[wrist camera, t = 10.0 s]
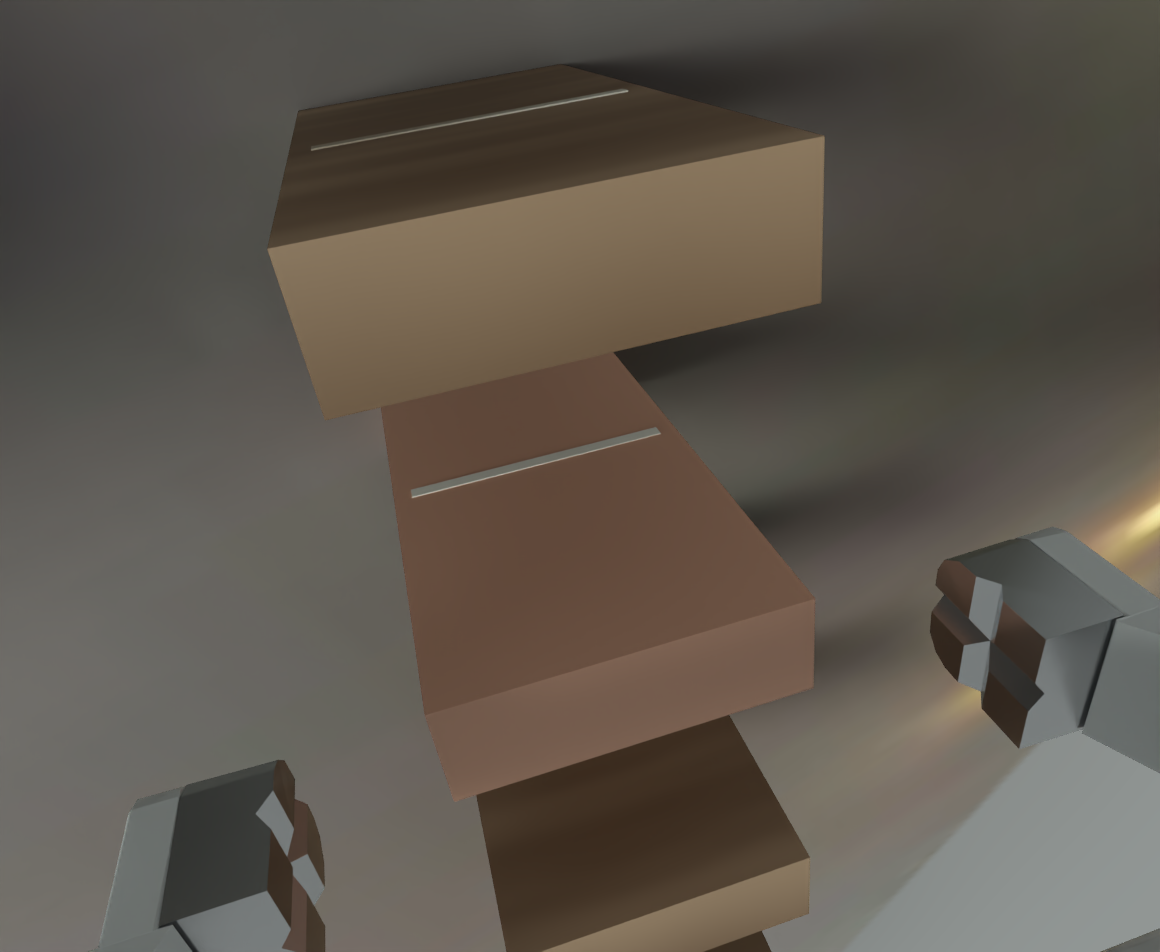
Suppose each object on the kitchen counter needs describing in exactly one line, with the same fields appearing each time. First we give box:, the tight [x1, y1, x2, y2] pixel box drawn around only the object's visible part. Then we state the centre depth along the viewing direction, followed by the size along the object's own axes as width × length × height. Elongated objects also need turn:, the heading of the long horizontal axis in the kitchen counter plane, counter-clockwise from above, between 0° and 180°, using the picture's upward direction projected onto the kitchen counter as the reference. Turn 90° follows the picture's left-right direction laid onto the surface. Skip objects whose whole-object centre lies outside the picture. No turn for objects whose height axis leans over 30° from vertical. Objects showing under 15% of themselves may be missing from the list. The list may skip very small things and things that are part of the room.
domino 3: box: [476, 715, 810, 952], centre depth 18 cm, size 2×5×10 cm, turn 98°
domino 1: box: [267, 64, 825, 420], centre depth 12 cm, size 2×5×10 cm, turn 98°
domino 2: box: [381, 352, 815, 802], centre depth 15 cm, size 2×5×10 cm, turn 98°
